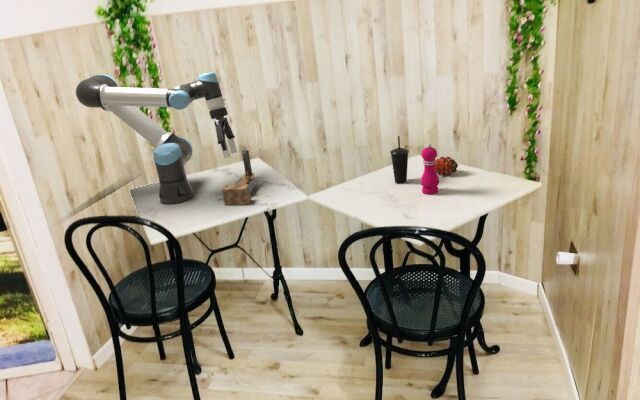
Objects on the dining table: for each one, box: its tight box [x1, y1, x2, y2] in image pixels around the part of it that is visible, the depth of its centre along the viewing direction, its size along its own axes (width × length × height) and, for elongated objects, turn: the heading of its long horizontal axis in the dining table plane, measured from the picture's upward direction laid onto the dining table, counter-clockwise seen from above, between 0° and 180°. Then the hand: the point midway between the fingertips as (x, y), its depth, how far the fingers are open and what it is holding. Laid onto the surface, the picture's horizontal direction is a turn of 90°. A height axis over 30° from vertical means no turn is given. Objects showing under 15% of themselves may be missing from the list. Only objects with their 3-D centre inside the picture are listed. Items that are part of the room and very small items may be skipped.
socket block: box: [221, 184, 252, 206], centre depth 218 cm, size 10×5×7 cm, turn 80°
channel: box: [234, 176, 257, 197], centre depth 228 cm, size 7×10×5 cm
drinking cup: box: [389, 135, 410, 185], centre depth 217 cm, size 8×8×20 cm
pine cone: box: [435, 156, 459, 177], centre depth 223 cm, size 8×8×12 cm
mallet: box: [236, 149, 256, 185], centre depth 227 cm, size 4×15×15 cm, turn 170°
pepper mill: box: [420, 143, 440, 196], centre depth 204 cm, size 7×7×20 cm
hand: (231, 155), depth 233 cm, fingers open, 13 cm apart
